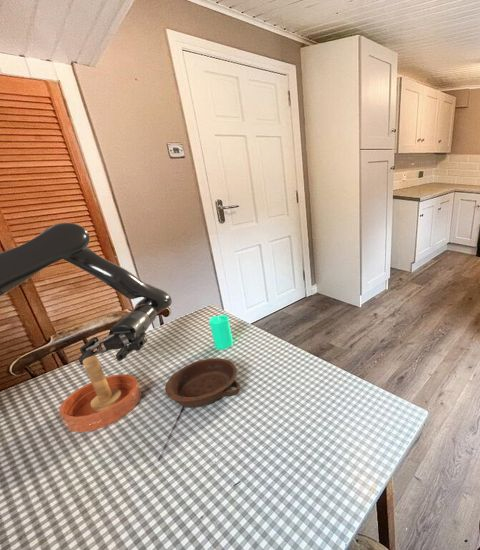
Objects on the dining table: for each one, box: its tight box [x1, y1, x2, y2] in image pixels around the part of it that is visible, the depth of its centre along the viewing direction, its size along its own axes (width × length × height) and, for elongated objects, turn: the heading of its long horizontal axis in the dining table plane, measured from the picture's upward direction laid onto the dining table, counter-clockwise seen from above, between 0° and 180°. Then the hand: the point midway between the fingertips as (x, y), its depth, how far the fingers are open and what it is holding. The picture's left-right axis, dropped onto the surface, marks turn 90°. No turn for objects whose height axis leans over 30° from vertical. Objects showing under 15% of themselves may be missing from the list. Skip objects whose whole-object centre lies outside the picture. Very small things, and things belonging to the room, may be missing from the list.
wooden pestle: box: [83, 355, 123, 413], centre depth 79 cm, size 6×6×14 cm
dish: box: [164, 357, 241, 409], centre depth 86 cm, size 18×22×5 cm
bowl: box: [58, 373, 143, 433], centre depth 80 cm, size 16×16×5 cm
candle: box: [208, 314, 234, 350], centre depth 105 cm, size 6×6×12 cm
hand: (100, 360), depth 79 cm, fingers open, 8 cm apart
